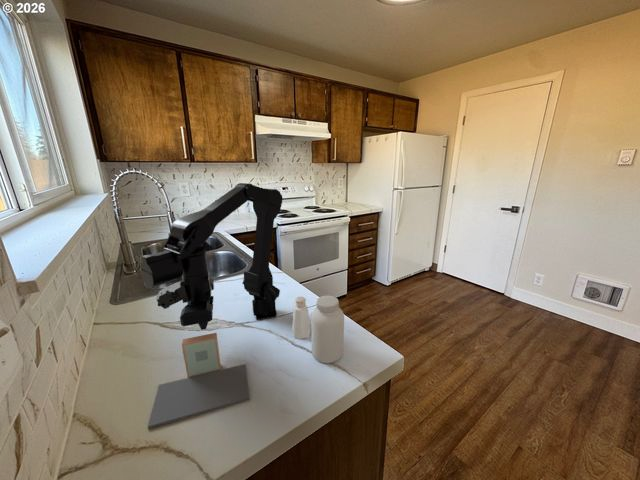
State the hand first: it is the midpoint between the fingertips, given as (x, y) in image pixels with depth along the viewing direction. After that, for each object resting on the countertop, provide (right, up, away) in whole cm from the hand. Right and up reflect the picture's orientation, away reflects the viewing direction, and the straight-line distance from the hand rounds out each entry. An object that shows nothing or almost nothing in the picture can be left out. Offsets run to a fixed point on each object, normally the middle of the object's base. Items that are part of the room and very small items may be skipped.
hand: (203, 328), depth 67 cm
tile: (+3, -8, -6) cm, 10 cm away
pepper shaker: (+24, -4, +8) cm, 26 cm away
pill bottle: (+31, -6, 0) cm, 32 cm away
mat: (+5, -10, -11) cm, 16 cm away
